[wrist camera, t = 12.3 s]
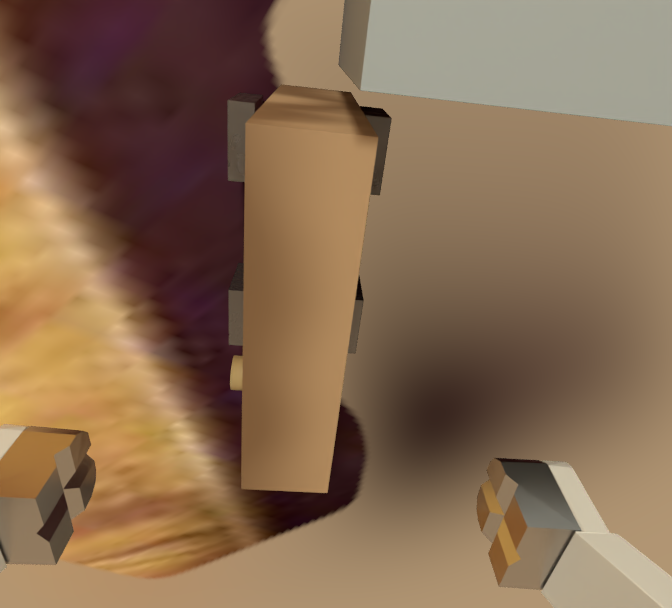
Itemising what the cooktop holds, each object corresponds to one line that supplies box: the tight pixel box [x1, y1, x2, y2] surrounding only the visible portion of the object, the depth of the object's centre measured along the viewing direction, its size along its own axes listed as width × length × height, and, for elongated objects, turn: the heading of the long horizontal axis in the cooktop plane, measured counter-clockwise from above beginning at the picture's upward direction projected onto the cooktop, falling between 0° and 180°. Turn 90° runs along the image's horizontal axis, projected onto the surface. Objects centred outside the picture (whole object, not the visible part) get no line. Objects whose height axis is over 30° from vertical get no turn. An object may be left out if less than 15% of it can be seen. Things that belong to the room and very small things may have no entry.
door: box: [230, 85, 378, 493], centre depth 18 cm, size 4×12×11 cm, turn 174°
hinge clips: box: [228, 93, 391, 353], centre depth 22 cm, size 6×11×3 cm, turn 174°
